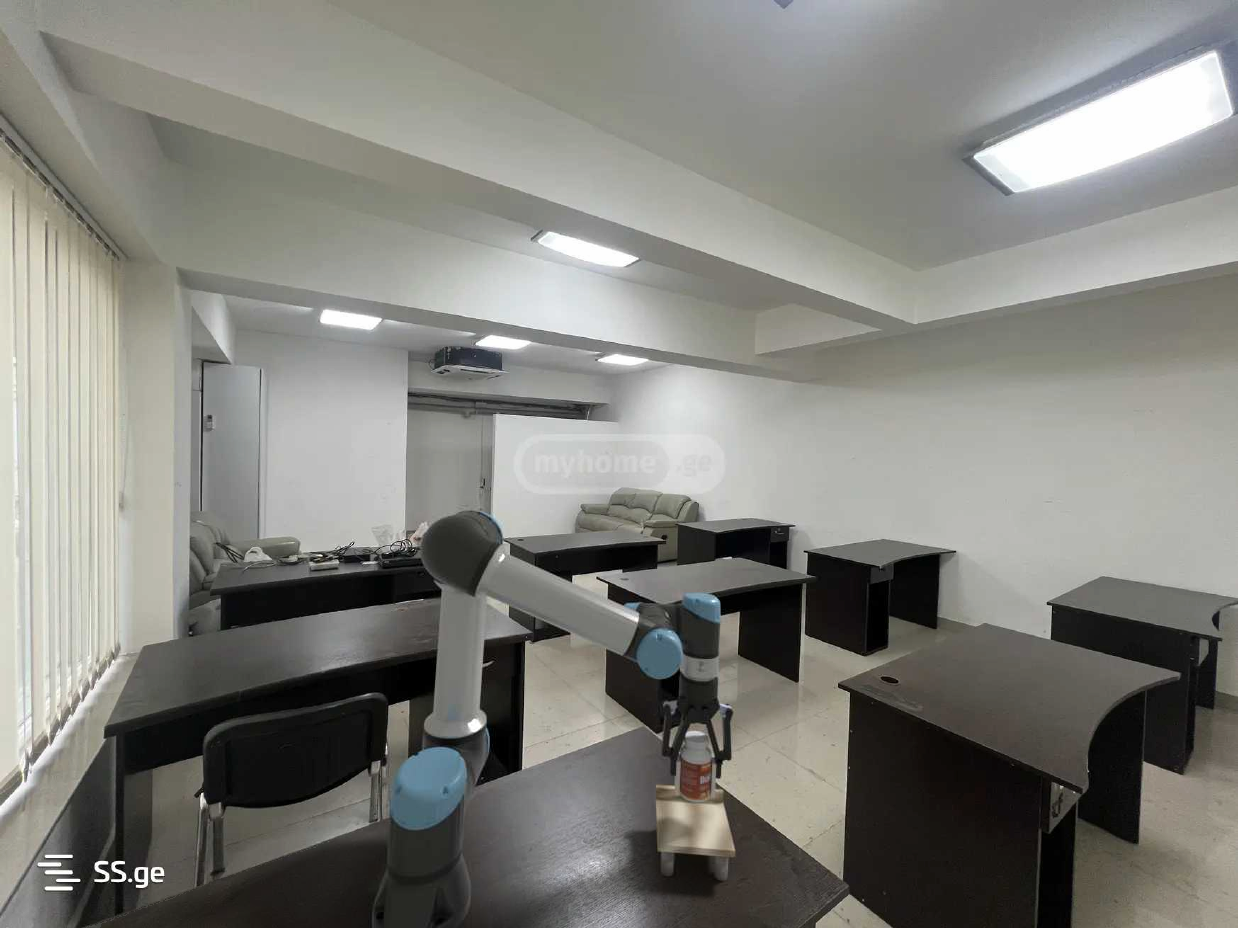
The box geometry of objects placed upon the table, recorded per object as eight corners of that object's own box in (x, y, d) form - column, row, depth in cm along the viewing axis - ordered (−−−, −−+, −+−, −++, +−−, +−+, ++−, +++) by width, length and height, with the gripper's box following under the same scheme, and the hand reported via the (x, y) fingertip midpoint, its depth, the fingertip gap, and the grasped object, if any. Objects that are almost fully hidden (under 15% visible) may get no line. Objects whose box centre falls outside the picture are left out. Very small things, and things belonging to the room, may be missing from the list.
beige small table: (656, 878, 89) (658, 833, 89) (654, 823, 103) (656, 784, 103) (733, 885, 89) (735, 839, 89) (721, 828, 103) (722, 789, 103)
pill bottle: (704, 808, 92) (706, 748, 92) (673, 796, 95) (675, 739, 95) (714, 790, 97) (716, 733, 97) (685, 779, 100) (687, 725, 100)
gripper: (650, 679, 93) (645, 801, 93) (752, 685, 92) (747, 808, 92) (650, 663, 101) (645, 776, 100) (743, 669, 100) (739, 783, 99)
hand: (694, 791), depth 96 cm, fingers closed on pill bottle, 6 cm apart
